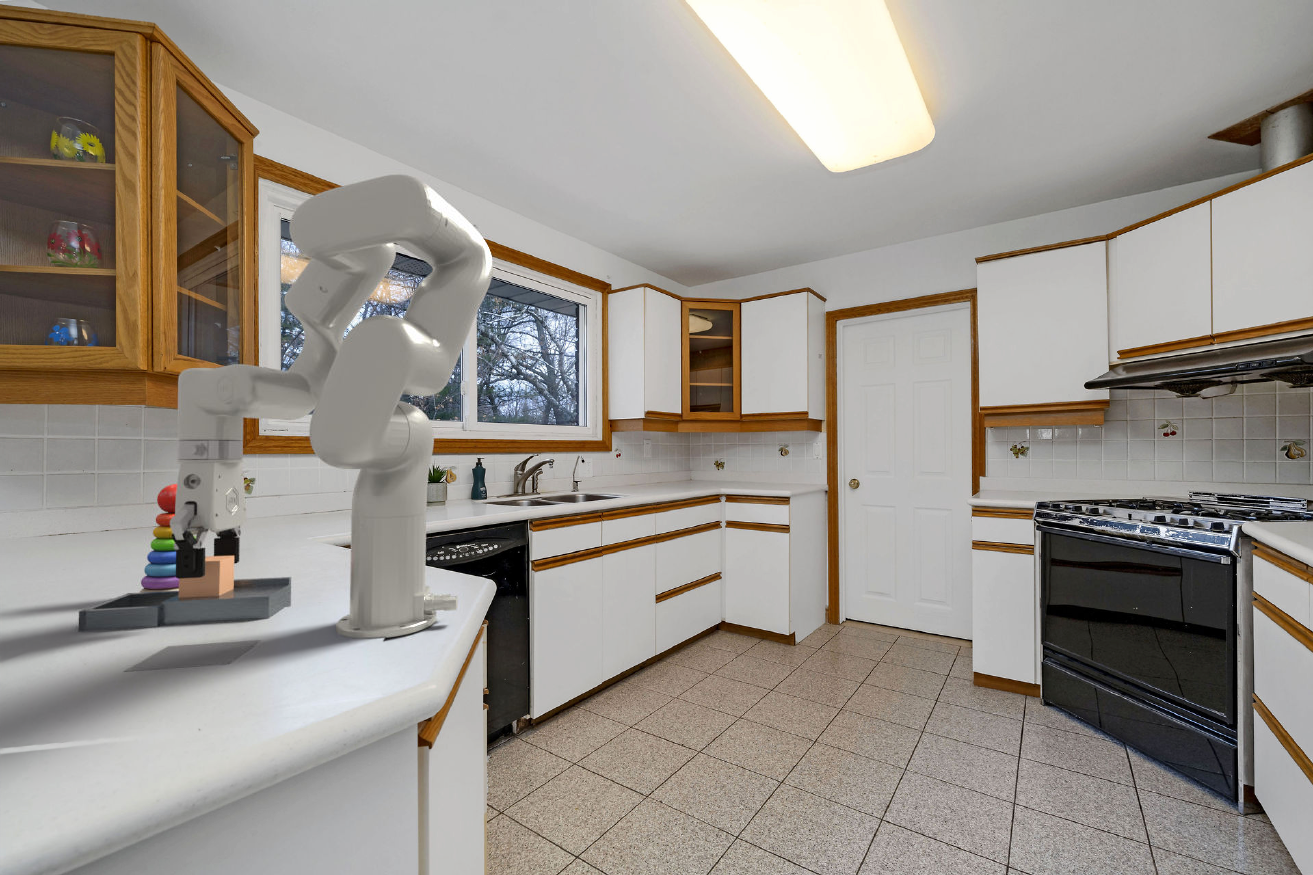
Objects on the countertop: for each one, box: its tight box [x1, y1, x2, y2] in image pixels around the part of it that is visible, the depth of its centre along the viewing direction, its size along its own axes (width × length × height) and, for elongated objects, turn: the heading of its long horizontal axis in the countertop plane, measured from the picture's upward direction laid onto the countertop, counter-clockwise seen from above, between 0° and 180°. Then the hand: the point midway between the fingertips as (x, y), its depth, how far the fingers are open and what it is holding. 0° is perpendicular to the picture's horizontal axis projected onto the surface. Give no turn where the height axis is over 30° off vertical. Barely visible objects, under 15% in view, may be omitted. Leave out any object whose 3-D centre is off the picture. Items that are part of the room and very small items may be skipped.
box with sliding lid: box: [77, 576, 292, 632], centre depth 81 cm, size 22×10×4 cm, turn 104°
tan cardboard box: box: [179, 555, 235, 598], centre depth 81 cm, size 5×4×5 cm
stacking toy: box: [138, 483, 196, 593], centre depth 92 cm, size 8×8×19 cm
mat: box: [122, 639, 262, 673], centre depth 65 cm, size 10×8×1 cm
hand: (209, 570), depth 81 cm, fingers open, 9 cm apart
